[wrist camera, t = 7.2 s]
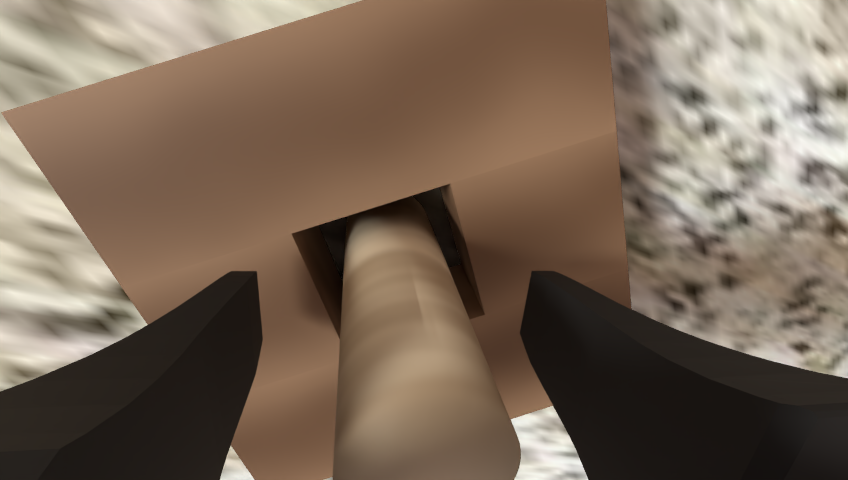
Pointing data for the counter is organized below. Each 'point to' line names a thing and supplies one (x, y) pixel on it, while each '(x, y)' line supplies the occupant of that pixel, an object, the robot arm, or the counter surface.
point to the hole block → (350, 180)
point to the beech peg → (412, 362)
